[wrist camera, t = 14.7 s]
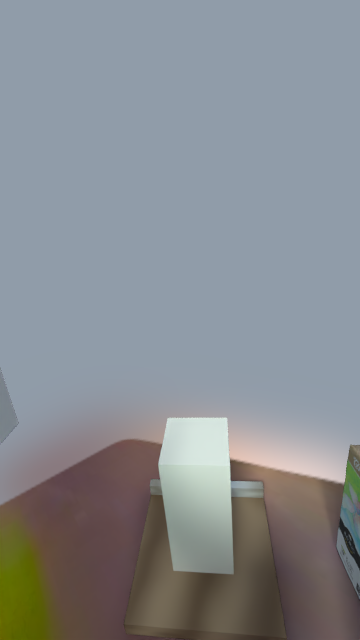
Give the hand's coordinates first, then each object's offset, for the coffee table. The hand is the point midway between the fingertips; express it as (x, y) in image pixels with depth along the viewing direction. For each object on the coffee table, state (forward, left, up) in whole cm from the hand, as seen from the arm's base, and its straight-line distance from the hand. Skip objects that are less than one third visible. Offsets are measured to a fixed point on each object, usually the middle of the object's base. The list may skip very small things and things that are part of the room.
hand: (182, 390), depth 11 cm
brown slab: (-3, +13, -30) cm, 33 cm away
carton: (-4, +13, -29) cm, 32 cm away
